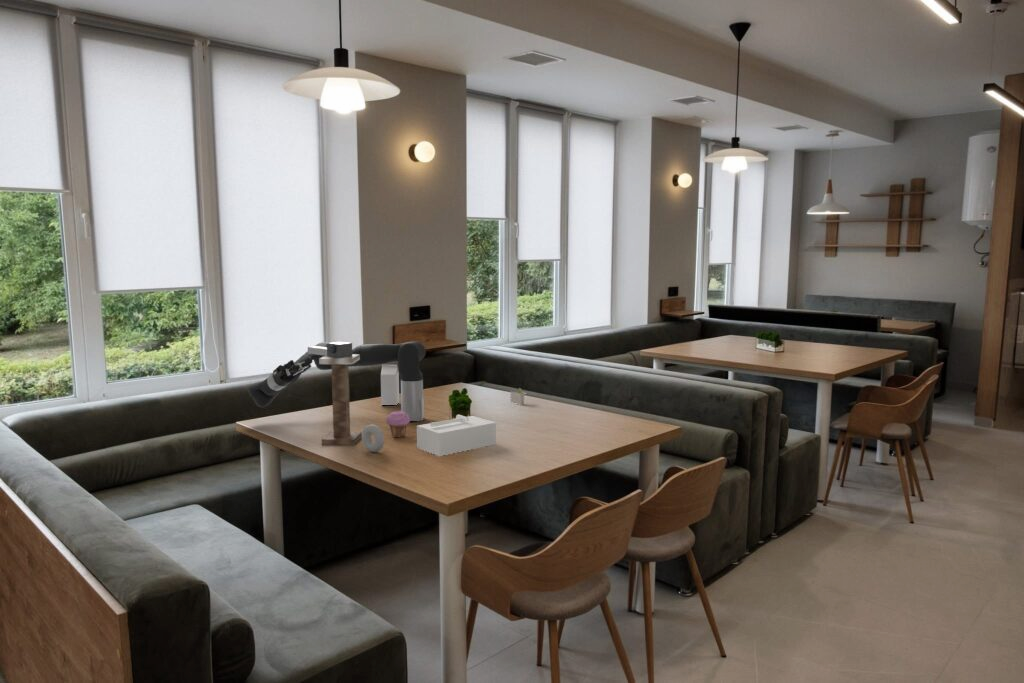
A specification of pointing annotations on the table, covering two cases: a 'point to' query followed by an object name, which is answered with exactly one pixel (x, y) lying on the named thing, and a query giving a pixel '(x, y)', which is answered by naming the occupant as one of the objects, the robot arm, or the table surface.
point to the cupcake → (398, 423)
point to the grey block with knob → (333, 350)
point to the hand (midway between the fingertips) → (302, 360)
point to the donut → (377, 434)
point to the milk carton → (389, 385)
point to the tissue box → (456, 435)
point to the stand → (341, 401)
